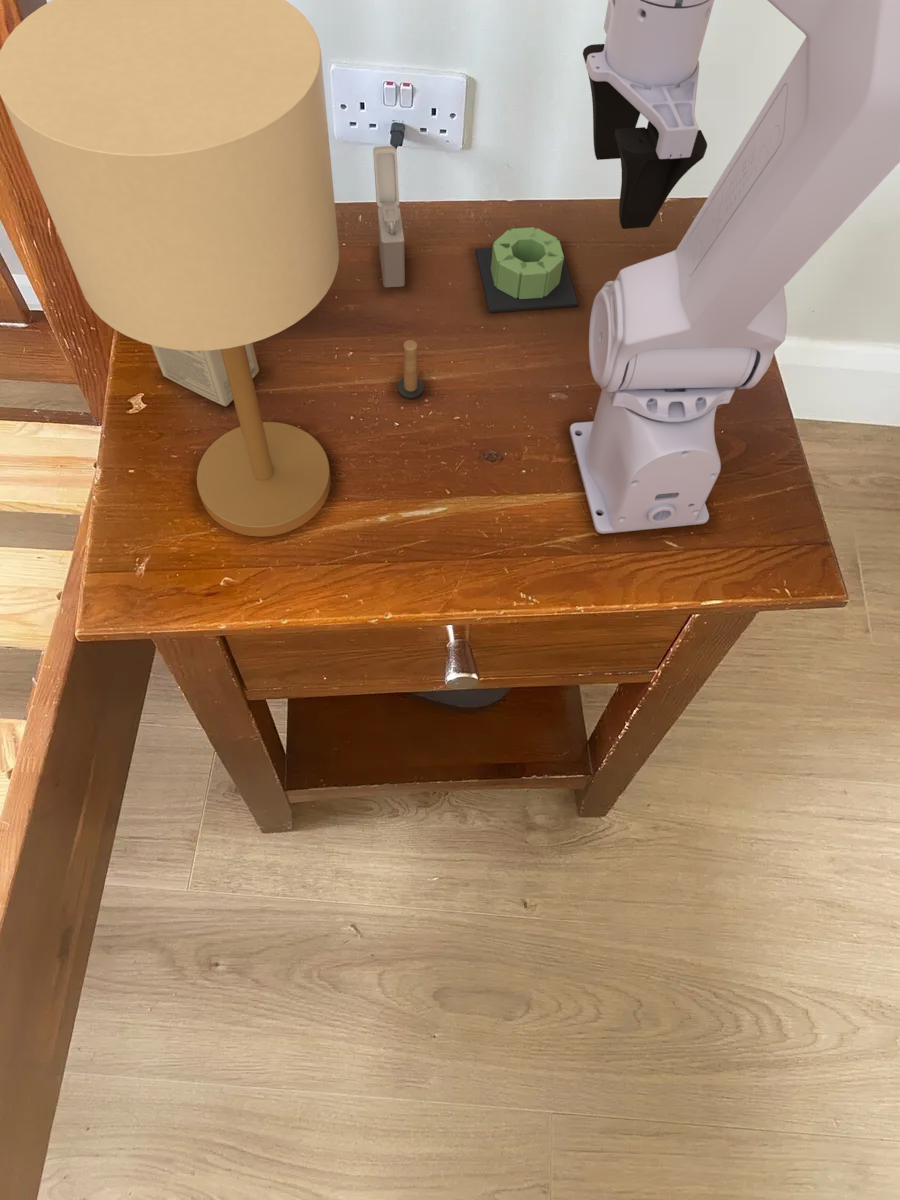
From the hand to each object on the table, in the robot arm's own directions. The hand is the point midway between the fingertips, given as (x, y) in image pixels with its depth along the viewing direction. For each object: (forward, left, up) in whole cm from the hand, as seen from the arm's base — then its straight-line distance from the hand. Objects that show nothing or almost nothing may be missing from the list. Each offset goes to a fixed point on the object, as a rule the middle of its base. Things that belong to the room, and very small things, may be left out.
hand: (621, 189), depth 64 cm
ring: (+2, +6, -9) cm, 11 cm away
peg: (-9, +16, -9) cm, 21 cm away
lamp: (-16, +27, -9) cm, 33 cm away
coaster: (+2, +6, -9) cm, 11 cm away
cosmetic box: (-6, +31, -10) cm, 33 cm away
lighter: (+6, +16, -10) cm, 20 cm away
